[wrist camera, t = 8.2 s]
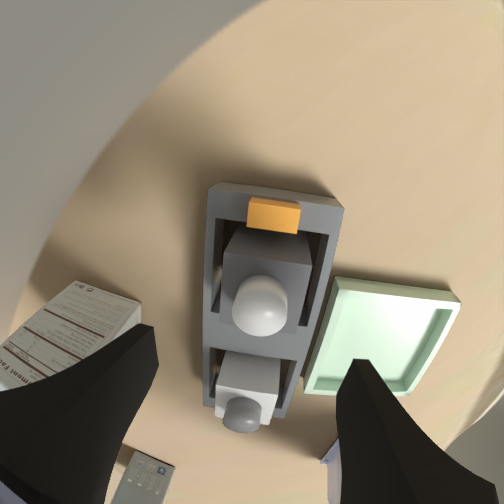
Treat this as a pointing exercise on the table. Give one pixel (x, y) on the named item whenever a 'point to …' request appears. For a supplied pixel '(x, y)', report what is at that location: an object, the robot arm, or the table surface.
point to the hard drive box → (144, 481)
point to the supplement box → (65, 333)
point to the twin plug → (247, 390)
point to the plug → (264, 280)
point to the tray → (379, 333)
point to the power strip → (214, 333)
